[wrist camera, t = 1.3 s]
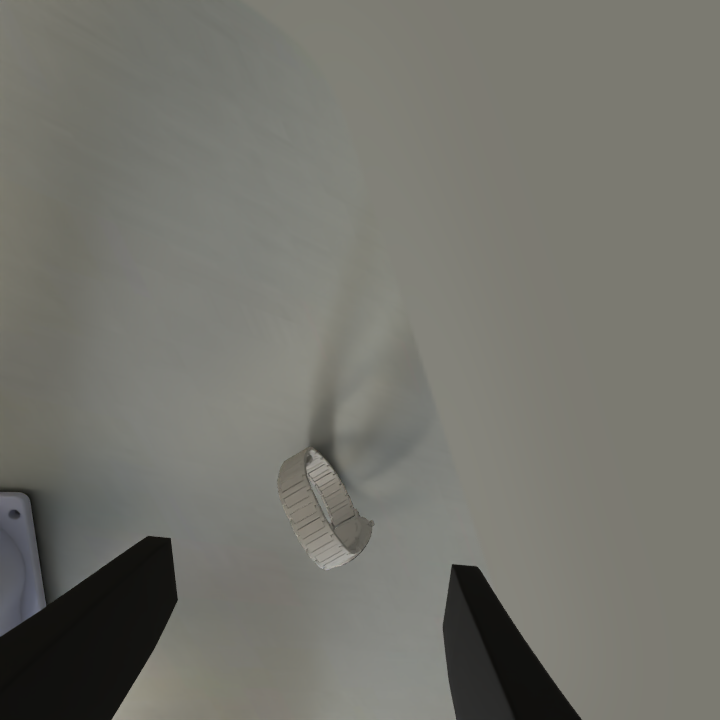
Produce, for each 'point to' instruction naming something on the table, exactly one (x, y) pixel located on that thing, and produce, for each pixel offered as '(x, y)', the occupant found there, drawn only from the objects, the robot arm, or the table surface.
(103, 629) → the robot arm
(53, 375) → the table surface
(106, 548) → the table surface
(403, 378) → the table surface
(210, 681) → the table surface
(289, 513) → the wristwatch
